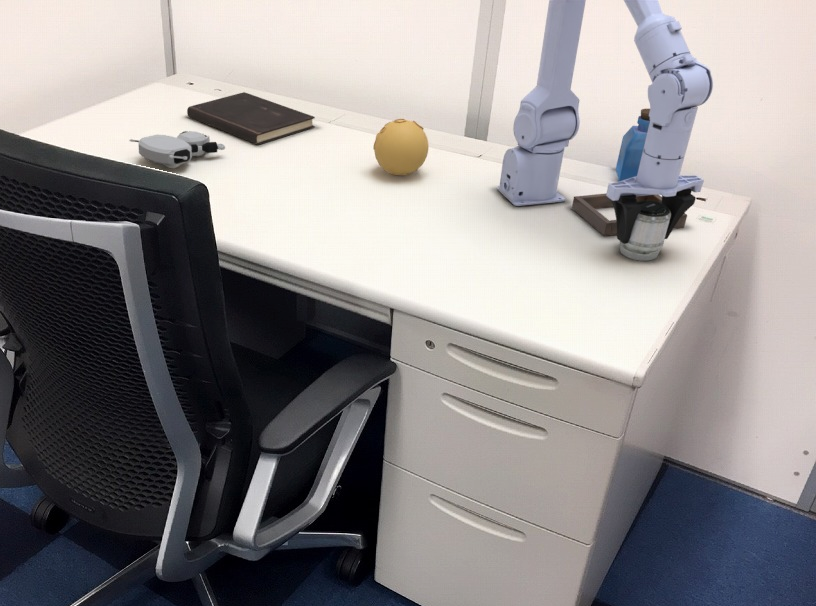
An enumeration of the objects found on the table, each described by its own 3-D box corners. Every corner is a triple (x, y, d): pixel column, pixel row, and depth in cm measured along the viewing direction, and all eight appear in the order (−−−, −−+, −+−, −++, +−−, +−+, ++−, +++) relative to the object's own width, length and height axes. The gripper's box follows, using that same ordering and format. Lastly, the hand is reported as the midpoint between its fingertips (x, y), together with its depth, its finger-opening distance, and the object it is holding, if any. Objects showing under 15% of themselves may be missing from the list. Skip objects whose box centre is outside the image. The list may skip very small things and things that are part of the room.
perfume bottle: (654, 184, 154) (671, 118, 147) (618, 181, 155) (633, 115, 148) (650, 171, 159) (666, 107, 152) (615, 168, 160) (630, 104, 153)
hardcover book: (244, 102, 192) (244, 91, 191) (314, 127, 178) (314, 116, 177) (187, 117, 183) (186, 107, 182) (256, 145, 170) (256, 134, 168)
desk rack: (603, 236, 137) (606, 223, 136) (571, 208, 146) (573, 196, 144) (684, 227, 140) (687, 214, 138) (647, 200, 148) (650, 188, 147)
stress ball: (437, 176, 157) (442, 122, 151) (394, 188, 153) (398, 133, 147) (403, 159, 164) (407, 107, 158) (362, 170, 159) (364, 117, 154)
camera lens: (609, 250, 133) (620, 203, 128) (633, 240, 136) (645, 193, 131) (643, 265, 129) (656, 217, 124) (668, 254, 132) (681, 207, 127)
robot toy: (188, 146, 172) (127, 160, 162) (188, 123, 169) (126, 136, 160) (229, 161, 165) (168, 177, 155) (229, 138, 162) (167, 153, 153)
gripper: (633, 166, 118) (612, 255, 126) (725, 158, 121) (699, 245, 129) (607, 149, 124) (589, 234, 132) (695, 141, 127) (672, 225, 134)
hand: (641, 238), depth 131 cm, fingers closed on camera lens, 6 cm apart
